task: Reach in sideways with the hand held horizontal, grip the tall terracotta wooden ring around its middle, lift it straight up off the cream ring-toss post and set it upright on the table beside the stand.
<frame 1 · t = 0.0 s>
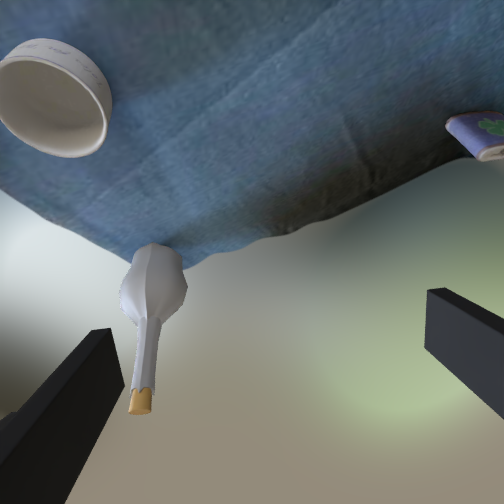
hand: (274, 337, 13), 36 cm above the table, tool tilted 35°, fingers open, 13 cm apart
flask: (473, 119, 46), on the table
bottle: (159, 245, 60), on the table
teacup: (56, 78, 36), on the table
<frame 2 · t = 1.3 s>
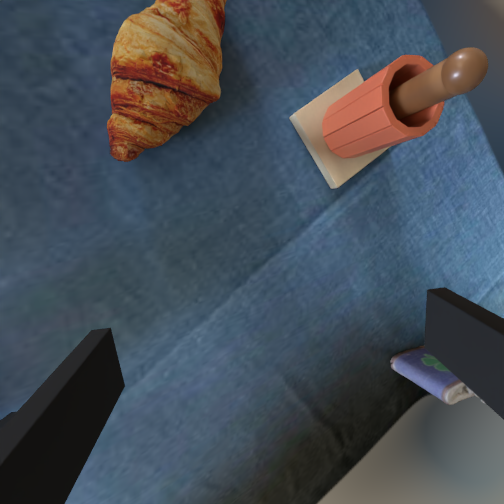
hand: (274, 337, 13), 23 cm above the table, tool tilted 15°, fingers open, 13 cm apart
ring stand: (340, 132, 38), on the table
flask: (414, 356, 45), on the table
croissant: (172, 78, 32), on the table
ring: (347, 129, 36), point 1 cm above the table, touching ring stand
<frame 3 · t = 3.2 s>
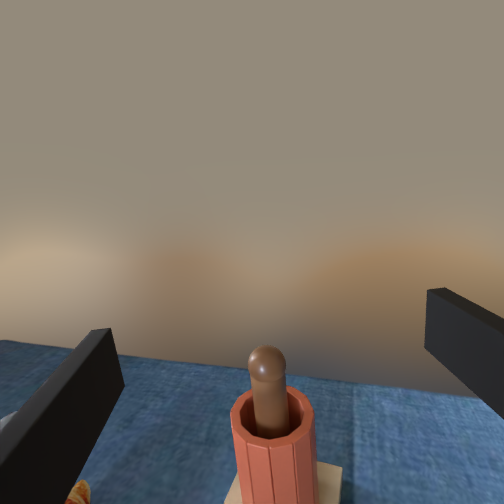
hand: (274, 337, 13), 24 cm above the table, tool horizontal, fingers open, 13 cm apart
ring: (280, 501, 28), point 1 cm above the table, touching ring stand
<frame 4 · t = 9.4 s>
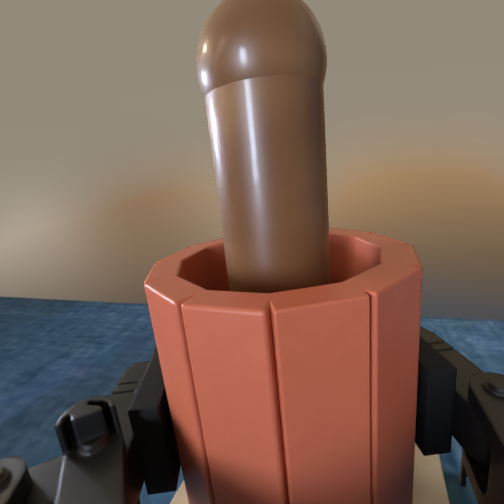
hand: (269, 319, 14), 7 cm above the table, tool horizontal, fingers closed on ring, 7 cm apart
when the fingers open (5 cm above the table, at t = 20.5 s): ring stays where it is, on the table.
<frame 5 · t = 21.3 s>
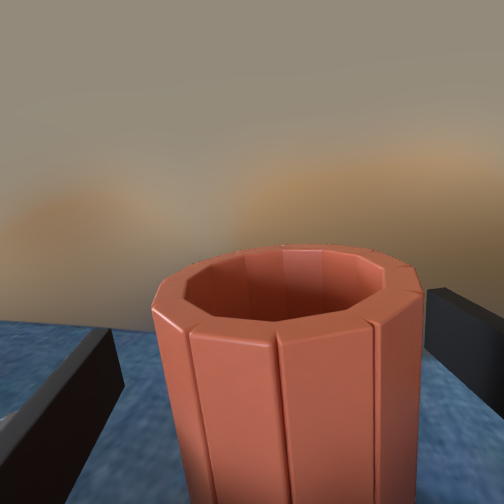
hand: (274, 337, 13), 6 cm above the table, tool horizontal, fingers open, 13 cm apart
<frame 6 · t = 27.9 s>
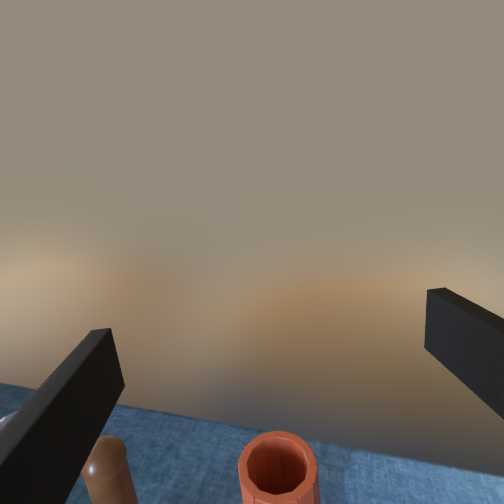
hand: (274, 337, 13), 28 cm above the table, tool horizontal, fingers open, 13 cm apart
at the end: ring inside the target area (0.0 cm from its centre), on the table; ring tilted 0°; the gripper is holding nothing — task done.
